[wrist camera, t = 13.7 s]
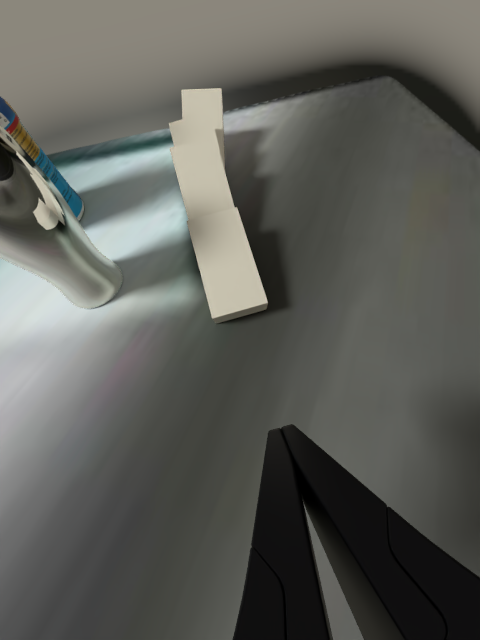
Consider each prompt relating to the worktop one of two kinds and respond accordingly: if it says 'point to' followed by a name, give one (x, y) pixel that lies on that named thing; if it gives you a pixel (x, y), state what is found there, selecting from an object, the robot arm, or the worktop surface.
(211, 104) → the domino
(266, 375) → the worktop surface
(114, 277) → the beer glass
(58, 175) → the beverage bottle
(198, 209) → the domino
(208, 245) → the domino
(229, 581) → the worktop surface
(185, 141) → the domino
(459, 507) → the worktop surface
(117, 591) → the worktop surface
